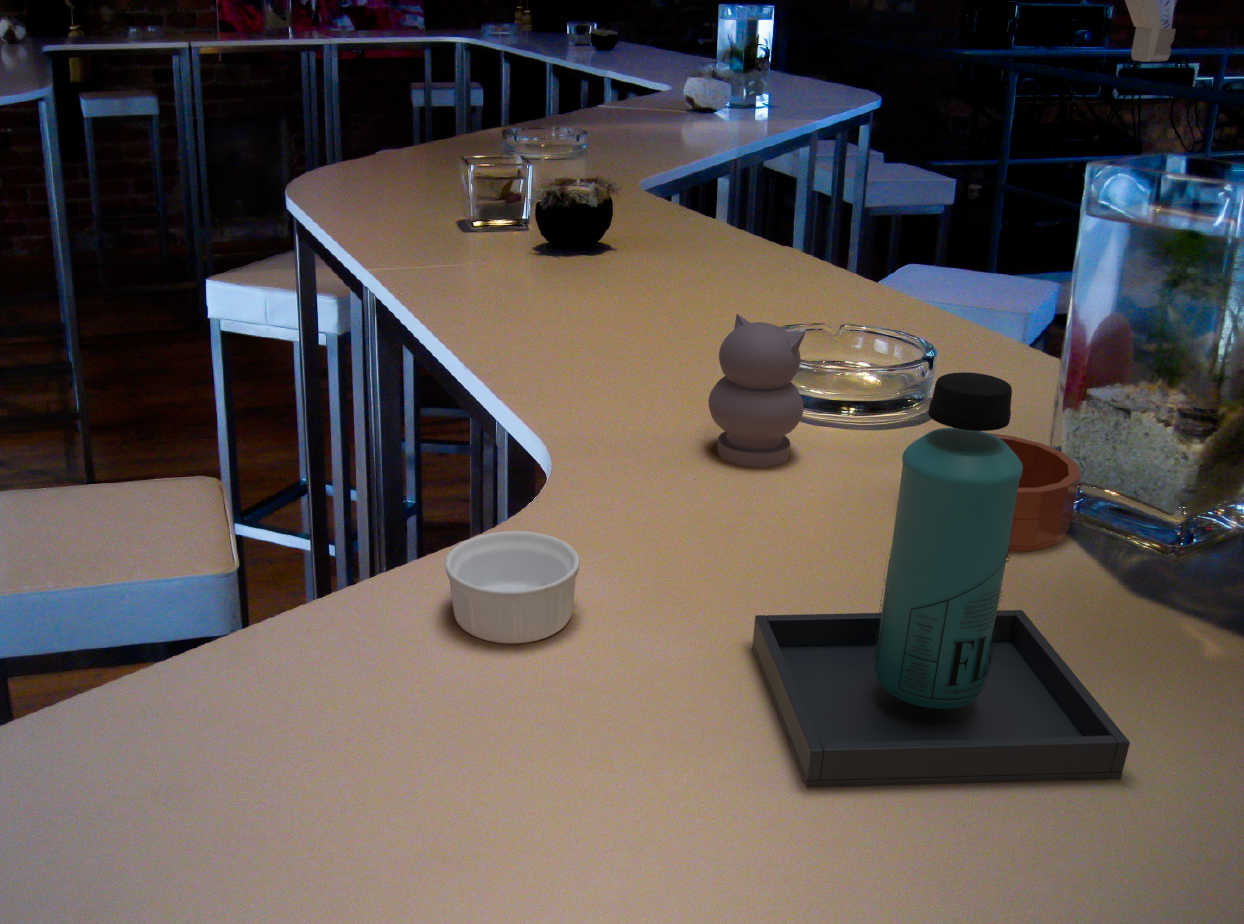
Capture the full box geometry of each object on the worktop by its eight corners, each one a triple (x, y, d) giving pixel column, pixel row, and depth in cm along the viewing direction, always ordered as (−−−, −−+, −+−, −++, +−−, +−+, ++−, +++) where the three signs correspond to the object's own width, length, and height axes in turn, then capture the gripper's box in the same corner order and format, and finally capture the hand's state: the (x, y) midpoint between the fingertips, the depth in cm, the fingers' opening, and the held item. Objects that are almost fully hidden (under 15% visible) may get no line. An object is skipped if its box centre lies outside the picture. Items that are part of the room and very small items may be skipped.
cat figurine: (686, 450, 109) (693, 320, 104) (744, 430, 113) (754, 304, 108) (759, 480, 103) (771, 343, 98) (817, 457, 108) (831, 325, 102)
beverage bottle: (941, 747, 68) (1001, 410, 59) (844, 697, 72) (886, 377, 64) (1003, 704, 72) (1067, 382, 63) (907, 659, 76) (954, 353, 68)
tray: (1015, 642, 79) (1022, 609, 78) (1121, 780, 66) (1130, 742, 65) (751, 648, 78) (755, 614, 77) (806, 789, 65) (810, 750, 64)
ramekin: (476, 662, 76) (475, 602, 74) (428, 600, 84) (425, 544, 82) (601, 632, 80) (603, 574, 78) (544, 575, 87) (545, 520, 85)
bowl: (1029, 486, 102) (1039, 431, 100) (1094, 551, 91) (1107, 490, 89) (889, 488, 101) (896, 433, 99) (938, 553, 91) (947, 492, 88)
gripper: (1130, -226, 61) (1077, 65, 67) (1517, -219, 62) (1431, 66, 68) (1075, -211, 67) (1031, 55, 73) (1430, -205, 68) (1358, 57, 74)
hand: (1227, 61), depth 71 cm, fingers open, 8 cm apart
